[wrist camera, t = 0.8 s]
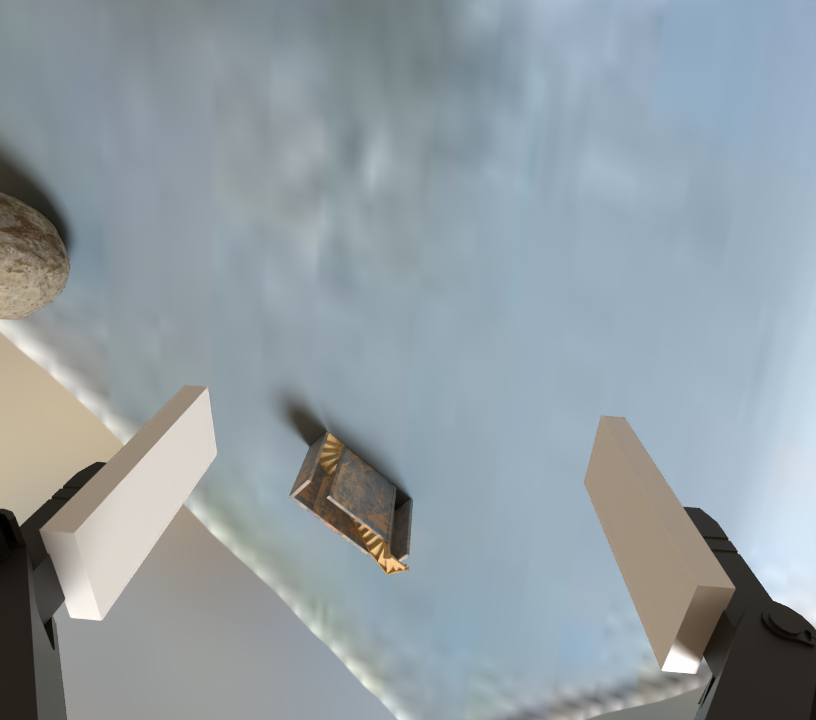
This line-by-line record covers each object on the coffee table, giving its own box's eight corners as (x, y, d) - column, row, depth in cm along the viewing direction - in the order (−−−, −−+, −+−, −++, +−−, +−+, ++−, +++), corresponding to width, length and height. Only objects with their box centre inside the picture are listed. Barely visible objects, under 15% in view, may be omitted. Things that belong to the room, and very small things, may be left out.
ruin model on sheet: (416, 494, 49) (411, 572, 40) (395, 511, 50) (386, 590, 41) (330, 425, 46) (305, 492, 38) (310, 444, 47) (281, 514, 39)
